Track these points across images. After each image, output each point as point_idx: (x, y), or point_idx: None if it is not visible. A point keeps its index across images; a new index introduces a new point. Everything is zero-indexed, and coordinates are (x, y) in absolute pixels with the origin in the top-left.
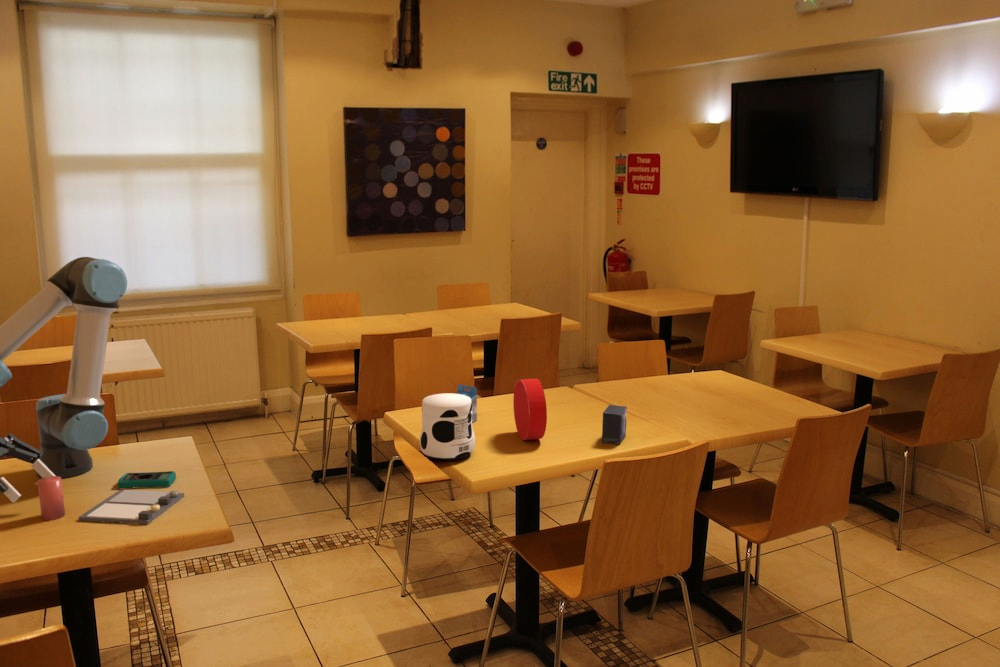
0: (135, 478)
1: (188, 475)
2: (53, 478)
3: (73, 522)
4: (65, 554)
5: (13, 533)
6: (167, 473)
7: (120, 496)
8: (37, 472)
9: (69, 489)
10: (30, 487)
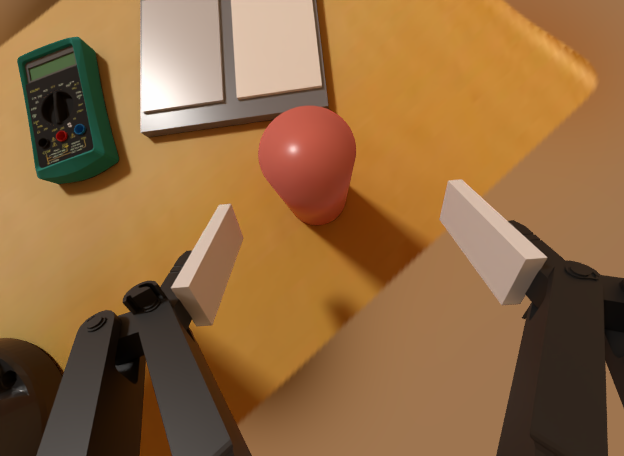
0: (72, 124)
1: (19, 56)
2: (286, 147)
3: None
4: (503, 8)
5: None
6: (28, 73)
7: (187, 92)
8: (226, 284)
9: None
10: None
